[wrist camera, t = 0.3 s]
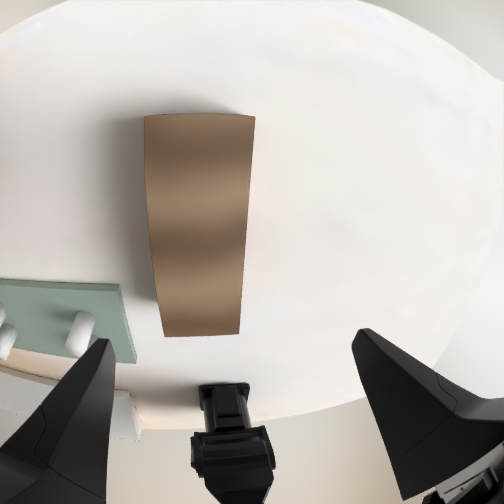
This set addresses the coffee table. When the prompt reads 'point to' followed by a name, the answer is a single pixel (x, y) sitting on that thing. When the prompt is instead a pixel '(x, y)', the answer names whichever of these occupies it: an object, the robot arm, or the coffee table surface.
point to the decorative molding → (37, 388)
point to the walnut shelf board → (198, 218)
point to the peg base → (62, 318)
